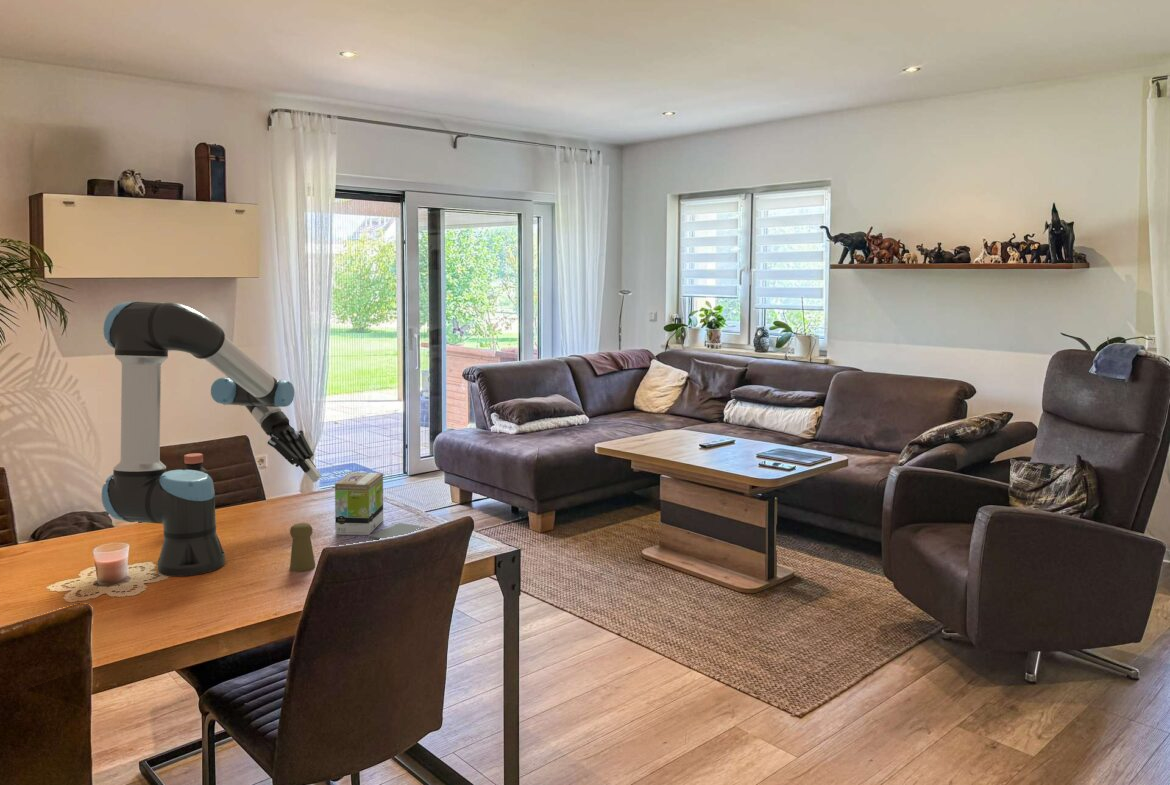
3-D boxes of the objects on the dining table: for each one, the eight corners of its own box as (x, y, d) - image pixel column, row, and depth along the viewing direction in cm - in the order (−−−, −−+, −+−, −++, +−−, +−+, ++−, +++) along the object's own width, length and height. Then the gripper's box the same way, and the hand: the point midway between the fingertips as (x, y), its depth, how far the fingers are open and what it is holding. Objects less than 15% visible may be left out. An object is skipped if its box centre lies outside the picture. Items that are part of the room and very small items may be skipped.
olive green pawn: (288, 572, 206) (287, 528, 204) (290, 564, 211) (288, 521, 210) (315, 570, 207) (313, 526, 206) (316, 562, 213) (314, 519, 212)
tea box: (370, 536, 235) (369, 483, 233) (334, 535, 236) (332, 483, 234) (384, 520, 250) (383, 471, 248) (350, 520, 250) (349, 471, 248)
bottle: (214, 519, 250) (210, 452, 247) (201, 526, 243) (198, 457, 241) (192, 518, 251) (188, 452, 248) (179, 525, 244) (175, 456, 241)
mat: (398, 543, 229) (398, 540, 229) (368, 538, 233) (368, 536, 233) (428, 529, 242) (428, 527, 242) (399, 524, 246) (399, 522, 246)
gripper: (280, 423, 259) (325, 482, 255) (247, 429, 247) (294, 492, 243) (293, 407, 256) (339, 466, 252) (260, 413, 245) (308, 475, 240)
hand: (317, 478), depth 247 cm, fingers closed
